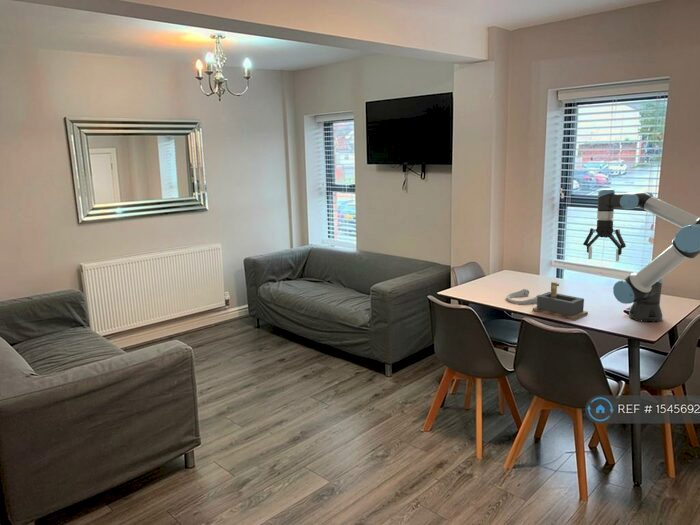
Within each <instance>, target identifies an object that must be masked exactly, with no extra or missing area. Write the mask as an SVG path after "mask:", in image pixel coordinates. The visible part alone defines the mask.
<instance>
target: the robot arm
mask: <svg viewBox="0 0 700 525" xmlns="http://www.w3.org/2000/svg"><path fill="white" fill-rule="evenodd" d="M635 208H638V209H639V208H640V209H642V210H644V211H646V212H648V213H650V214H652V215H654V216H656V217H658V218H660V219H662V220H664V221H666V222H667V223H670V224H673V225H675V226H677V227H679V229H678V231H676V233H675V236H674V238H673V239H671V240H672V241H671V243H672V244H671V245H670V246H669V247H667V248H666V249H665V250H663V252H661V253H660V254H659V255H658V256H656V257H655V258H654V259H652V261H650V262H649V263H648V264H647V265H644V267H643V268H642V269H640V270H639V271H638V272H632V273H630V274H629V275H628V276H627V277H626V278H624V279H621V280H618V281H617V282H615V283H614V285H613V288H612V289H613V296H614V298H615V299H616V300H617V301H618V302H619V303H621V304H626V305H627V304H628V305H629V304H631V307H630V309H629V312H628V317H629V316H630V317H631V318H630V317H629V318H630V319H632V318H634V319H637V320H636V321H638V320H642V321H641V322H643V321H652V322H651V323H656V322H655V321H659V322H662V321H663V311H662V308H661V294H662V286H663V278H664V277H665V276H667V275H668V274H669V273H671V272H672V271H673V270H675V268H677V267H678V266H679V265H681V264H683V262H685V261H686V260H687V259H692V260H693V259H694V258H696V257H697V256H699V255H700V217H699V216H697V215H695V214H693V213H690V212H689V211H686V210H683V209H681V208H680V207H677V206H675V205H673V204H671V203H668V202H666V201H664V200H662V199H659V198H658V197H654V195H653V193H652V192H650V191H647V190H646V191H645V190H644V191H643V190H642V191H636V192H634V191H633V192H625V193H624V192H623V193H621V192H619V193H618V192H617V193H616V192H615V189H614V188H602V189H599V190H598V192H597V212H596V215H597V216H596V219H597V220H596V228H595V227H591V228H590V229H589V233H588V235H587V237H586V239H585V240H584V242H583V243H582V245H583V246H586V253H587V254H588V256H587V257H588V258H587V260H591V259H593V246H592V245H593V244H594V243H595V242H596V241H597V240H598V239H599V238H606V239H607V238H608V239H610V241H611V242H612V243H613V244H614V245H615V247H616V249H615V251H616V252H615V262H617V263H618V262H619V261H620V256H621V255H622V251H623V250H622V249H624V248H627V244H626V243H625V241H624V239H623V237H622V235H621V231H620V230H621V229H619V228H617V229H614V220H613V219H614V214H615V213H614V210H615V209H625V210H634V209H635ZM595 233H596V235H595V236H594V234H595ZM613 233H614V234H615V235H616V237H615V236H614V235H613ZM592 236H594V237H592ZM591 238H592V239H591ZM616 238H617V239H616ZM634 319H633V320H634ZM661 320H662V321H661Z"/></svg>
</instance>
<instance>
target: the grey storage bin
mask: <svg viewBox="0 0 700 525" xmlns="http://www.w3.org/2000/svg"><path fill="white" fill-rule="evenodd" d="M538 295H539V296H537V295H536V296H537V303H536V307H537V309H541V310H546V311H550V312H555V313H559V314H564V315H568V316H574V315H576V314H579V313H581V312H583V311H584V306H585V305H584V304H585V298H583V297H576V296H572V295H566V294H564V293H563V294H561V293H557V296H556V298H551V291H547V292H544V293H542V294H538Z"/></svg>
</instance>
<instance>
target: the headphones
mask: <svg viewBox="0 0 700 525" xmlns="http://www.w3.org/2000/svg"><path fill="white" fill-rule="evenodd" d="M529 295H530V290H529V289H527V288H522V289H521V290H518V291H515V292H512V293H509V294H508V295H507V296H506V301H507V302H509V301H510V302H509V303H511V302H512V303H513V304H515V303H518V304H517V305H532V303H534V304H537V296H539V295H540V294H537V295H536V296H535V297H532V298H529V299H526V300H515V299H513V297H514V298H522V297H521V296H524V297H528V296H529ZM509 298H510V299H509Z"/></svg>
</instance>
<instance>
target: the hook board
mask: <svg viewBox="0 0 700 525" xmlns="http://www.w3.org/2000/svg"><path fill="white" fill-rule="evenodd" d="M558 287H560V283H558V282H557V281H551V282H550V292H551V298H556V296H557V294H558V291H557V290H558ZM531 310H532V311H533V312H536V313H540V312H541V314H545V315H549V316H553V317H557V316H558V318H563V319H567V320H571V321H577V320H580V319H581V318H583V317H585V315H586V316H588V315H589V311H586V310H583V312H581V313H579V314H576V315H574V316H568V315H564V314H559V313H555V312H550V311H546V310H541V309H537V306H535V307H532V309H531ZM587 314H588V315H587ZM582 316H583V317H582ZM580 317H581V318H580ZM576 319H577V320H576Z"/></svg>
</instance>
